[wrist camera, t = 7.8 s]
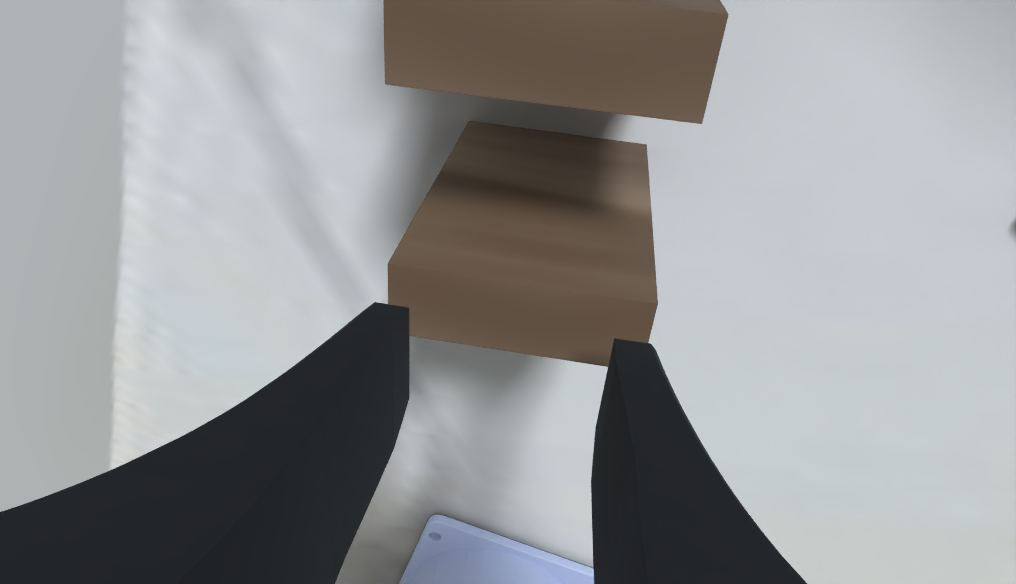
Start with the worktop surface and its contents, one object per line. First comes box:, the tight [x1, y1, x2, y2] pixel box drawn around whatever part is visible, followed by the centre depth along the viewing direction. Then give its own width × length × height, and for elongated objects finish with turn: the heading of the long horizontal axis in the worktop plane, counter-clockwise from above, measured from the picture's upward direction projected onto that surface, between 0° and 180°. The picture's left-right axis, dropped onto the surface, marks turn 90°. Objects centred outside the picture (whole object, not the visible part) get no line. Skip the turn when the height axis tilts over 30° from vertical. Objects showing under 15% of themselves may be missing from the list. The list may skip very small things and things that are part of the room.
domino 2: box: [388, 121, 658, 367], centre depth 16 cm, size 2×5×8 cm, turn 85°
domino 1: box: [384, 0, 728, 124], centre depth 14 cm, size 2×5×8 cm, turn 85°
